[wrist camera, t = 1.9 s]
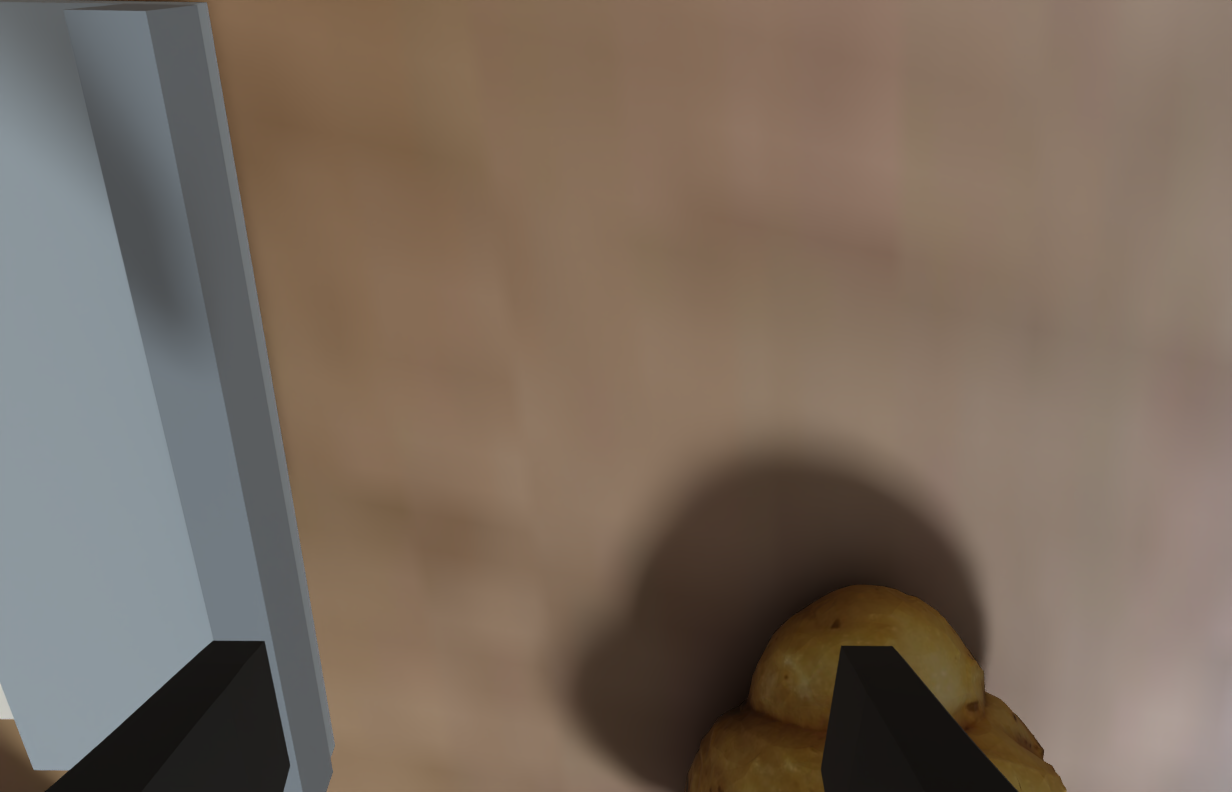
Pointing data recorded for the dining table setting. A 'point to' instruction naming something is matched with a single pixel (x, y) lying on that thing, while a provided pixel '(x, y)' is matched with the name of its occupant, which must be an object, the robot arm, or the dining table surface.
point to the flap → (134, 387)
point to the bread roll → (803, 689)
